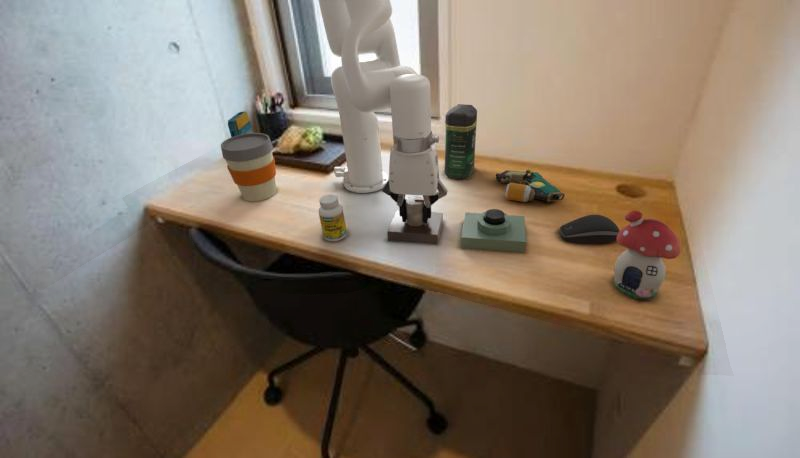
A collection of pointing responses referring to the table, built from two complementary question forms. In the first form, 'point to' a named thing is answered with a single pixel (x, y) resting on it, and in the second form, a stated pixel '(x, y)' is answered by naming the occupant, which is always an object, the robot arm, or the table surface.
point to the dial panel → (416, 230)
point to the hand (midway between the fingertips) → (415, 218)
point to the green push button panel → (494, 233)
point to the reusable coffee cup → (251, 165)
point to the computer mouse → (590, 230)
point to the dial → (414, 210)
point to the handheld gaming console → (240, 124)
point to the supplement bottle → (332, 218)
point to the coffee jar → (460, 141)
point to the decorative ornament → (643, 256)
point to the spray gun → (528, 186)
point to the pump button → (494, 217)
